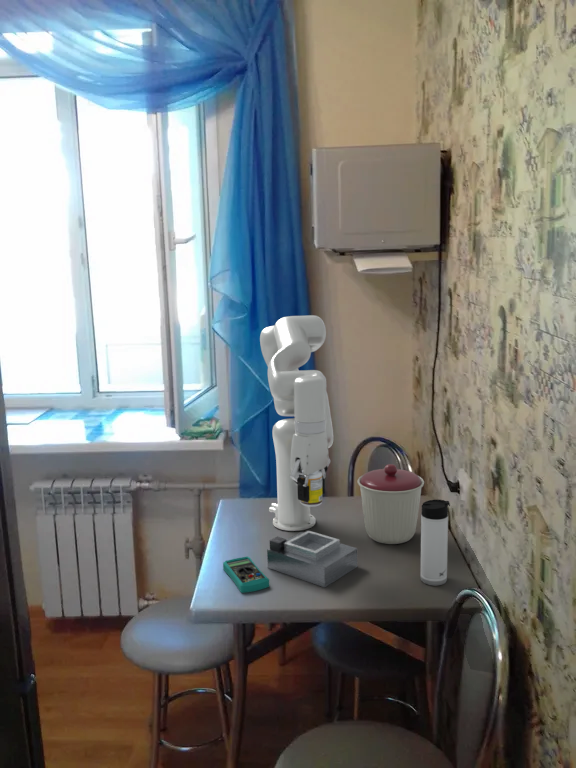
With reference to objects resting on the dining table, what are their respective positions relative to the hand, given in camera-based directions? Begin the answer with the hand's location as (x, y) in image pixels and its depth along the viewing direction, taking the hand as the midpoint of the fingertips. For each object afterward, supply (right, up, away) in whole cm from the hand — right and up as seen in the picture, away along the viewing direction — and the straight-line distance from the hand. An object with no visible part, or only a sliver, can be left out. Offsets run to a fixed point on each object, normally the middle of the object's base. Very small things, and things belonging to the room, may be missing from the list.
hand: (311, 496), depth 177 cm
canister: (+23, -15, +21) cm, 34 cm away
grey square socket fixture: (0, -19, +4) cm, 19 cm away
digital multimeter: (-16, -21, -1) cm, 26 cm away
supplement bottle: (0, -2, 0) cm, 2 cm away
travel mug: (+30, -20, -5) cm, 36 cm away
